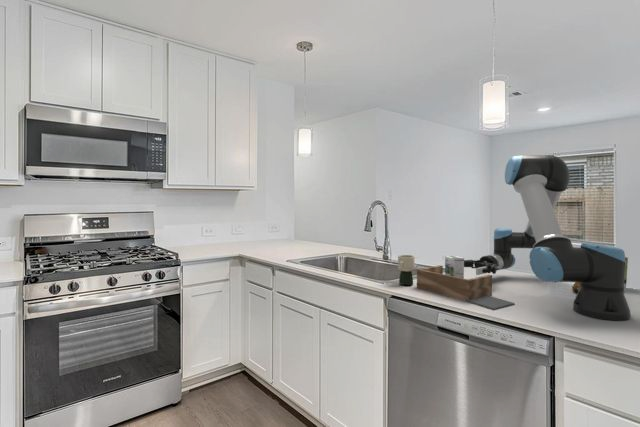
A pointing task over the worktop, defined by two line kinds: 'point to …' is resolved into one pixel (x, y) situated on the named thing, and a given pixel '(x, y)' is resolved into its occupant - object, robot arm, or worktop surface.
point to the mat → (490, 302)
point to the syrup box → (454, 266)
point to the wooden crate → (453, 284)
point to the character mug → (406, 269)
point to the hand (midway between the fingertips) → (462, 268)
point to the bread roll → (576, 287)
